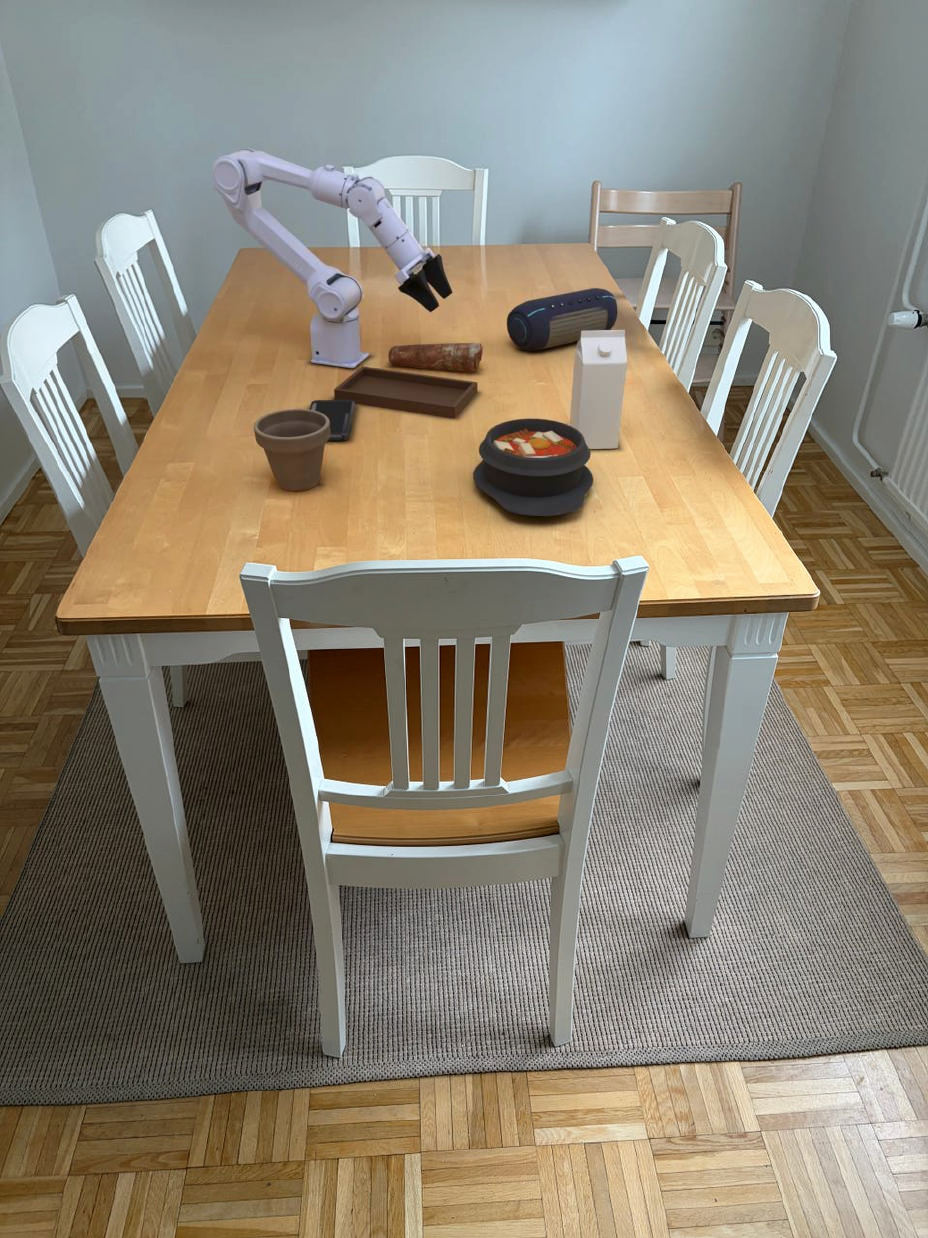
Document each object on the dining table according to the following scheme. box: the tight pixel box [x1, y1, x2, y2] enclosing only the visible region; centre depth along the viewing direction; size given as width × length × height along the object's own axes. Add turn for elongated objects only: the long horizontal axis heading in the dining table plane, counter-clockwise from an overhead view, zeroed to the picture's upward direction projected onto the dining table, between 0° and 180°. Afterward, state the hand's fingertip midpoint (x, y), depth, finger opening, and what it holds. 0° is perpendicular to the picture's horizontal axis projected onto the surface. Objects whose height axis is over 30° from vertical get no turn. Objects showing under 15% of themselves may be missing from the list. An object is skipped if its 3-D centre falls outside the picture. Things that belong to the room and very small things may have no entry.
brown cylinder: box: [387, 342, 484, 373], centre depth 188 cm, size 6×19×6 cm, turn 78°
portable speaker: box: [506, 287, 619, 352], centre depth 199 cm, size 25×10×10 cm, turn 123°
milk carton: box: [568, 329, 628, 450], centre depth 157 cm, size 7×7×19 cm
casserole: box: [472, 418, 594, 517], centre depth 146 cm, size 25×19×8 cm
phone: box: [308, 399, 356, 442], centre depth 167 cm, size 8×1×15 cm
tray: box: [333, 365, 478, 419], centre depth 177 cm, size 24×13×2 cm, turn 71°
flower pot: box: [253, 408, 330, 492], centre depth 146 cm, size 12×11×10 cm
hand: (441, 302), depth 180 cm, fingers open, 7 cm apart
